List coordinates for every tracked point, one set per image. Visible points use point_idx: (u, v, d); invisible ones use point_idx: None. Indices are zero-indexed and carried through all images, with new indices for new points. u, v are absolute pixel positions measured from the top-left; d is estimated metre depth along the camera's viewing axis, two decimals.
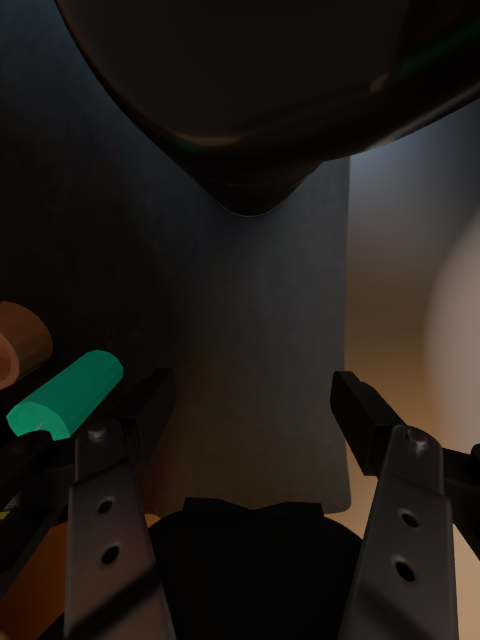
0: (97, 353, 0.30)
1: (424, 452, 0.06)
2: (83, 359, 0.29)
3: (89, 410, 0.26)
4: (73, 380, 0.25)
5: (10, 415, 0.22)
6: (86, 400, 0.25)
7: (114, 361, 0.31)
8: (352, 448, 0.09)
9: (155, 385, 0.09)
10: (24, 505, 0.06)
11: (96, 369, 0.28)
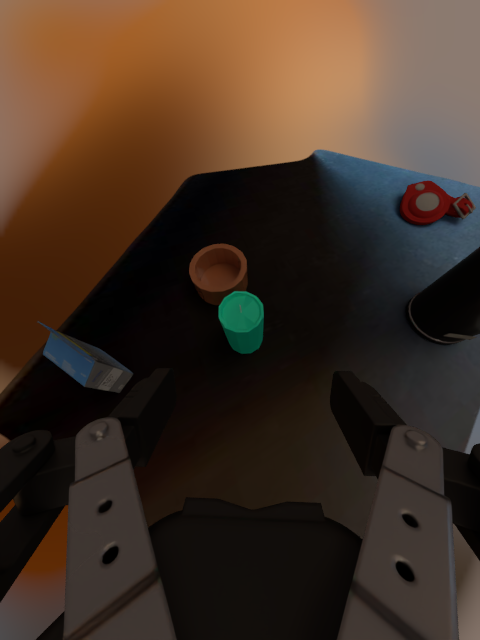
0: None
1: (424, 452, 0.06)
2: None
3: (252, 337, 0.31)
4: None
5: (237, 292, 0.30)
6: (260, 330, 0.31)
7: (262, 338, 0.38)
8: (352, 448, 0.09)
9: (155, 385, 0.09)
10: (24, 505, 0.06)
11: None
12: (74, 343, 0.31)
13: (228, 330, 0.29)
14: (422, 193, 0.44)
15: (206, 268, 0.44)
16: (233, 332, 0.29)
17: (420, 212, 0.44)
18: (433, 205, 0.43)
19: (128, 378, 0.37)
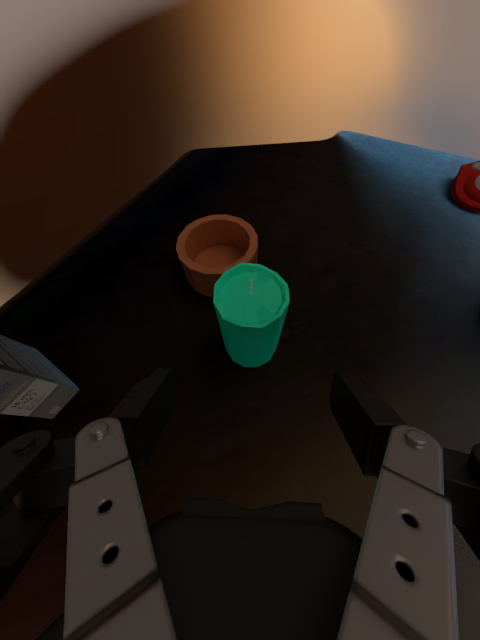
0: None
1: (424, 452, 0.06)
2: None
3: (267, 339, 0.19)
4: None
5: (246, 265, 0.19)
6: (279, 329, 0.19)
7: (276, 346, 0.26)
8: (352, 448, 0.09)
9: (155, 385, 0.09)
10: (24, 505, 0.06)
11: None
12: None
13: (228, 324, 0.17)
14: None
15: (201, 249, 0.33)
16: (237, 327, 0.17)
17: None
18: None
19: (69, 396, 0.24)
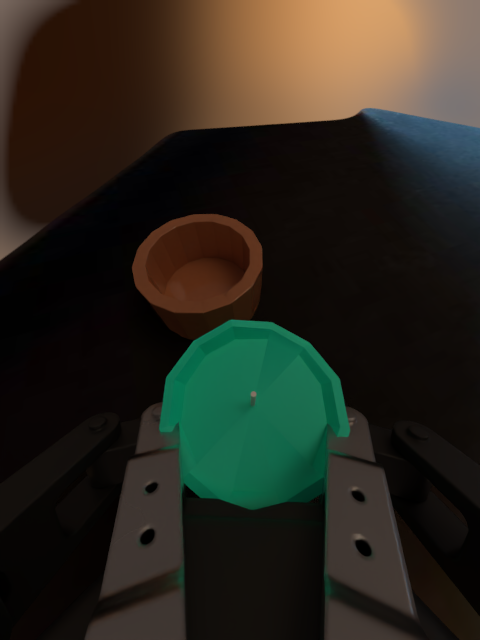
0: None
1: (351, 427, 0.07)
2: None
3: None
4: None
5: (242, 325, 0.08)
6: None
7: None
8: None
9: None
10: (93, 478, 0.07)
11: None
12: None
13: None
14: None
15: (179, 264, 0.22)
16: None
17: None
18: None
19: None
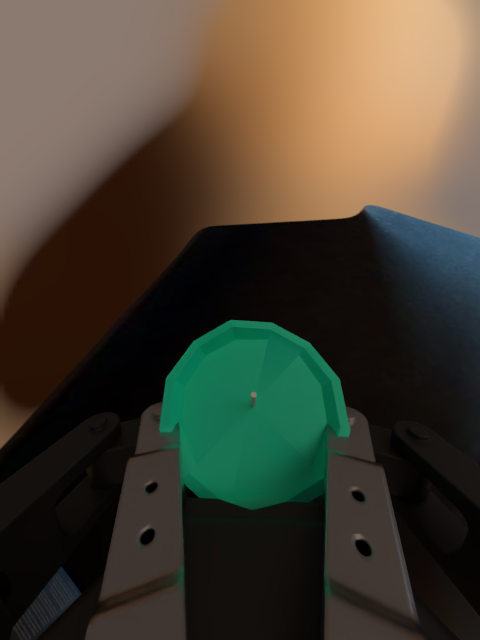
0: None
1: (350, 427, 0.07)
2: None
3: None
4: None
5: (242, 325, 0.08)
6: None
7: None
8: None
9: None
10: (93, 478, 0.07)
11: None
12: None
13: None
14: None
15: None
16: None
17: None
18: None
19: None
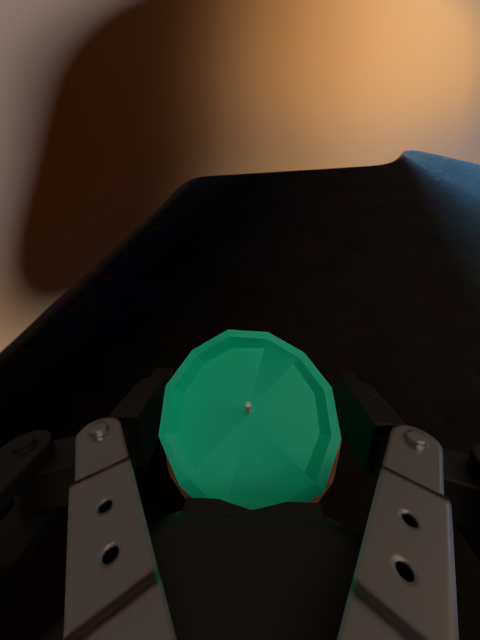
0: None
1: (424, 452, 0.06)
2: None
3: None
4: None
5: (238, 335, 0.09)
6: None
7: None
8: (352, 448, 0.09)
9: (155, 385, 0.09)
10: (24, 505, 0.06)
11: None
12: None
13: None
14: None
15: None
16: None
17: None
18: None
19: None
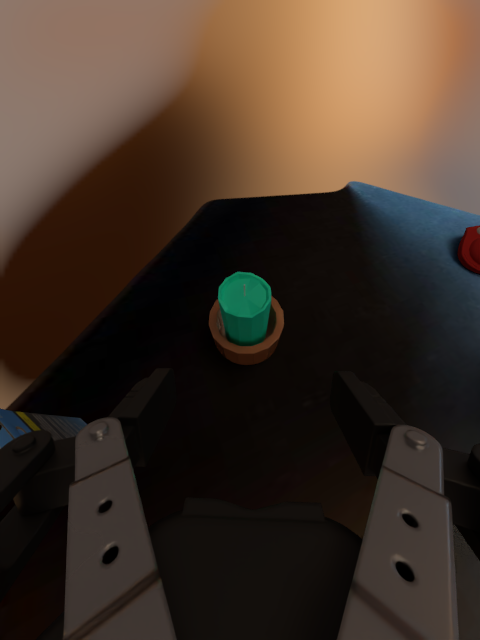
0: None
1: (424, 452, 0.06)
2: None
3: (256, 327, 0.26)
4: None
5: (241, 273, 0.26)
6: (265, 319, 0.27)
7: (265, 334, 0.33)
8: (352, 448, 0.09)
9: (155, 385, 0.09)
10: (24, 505, 0.06)
11: None
12: None
13: (228, 315, 0.24)
14: None
15: None
16: (234, 317, 0.24)
17: None
18: None
19: None
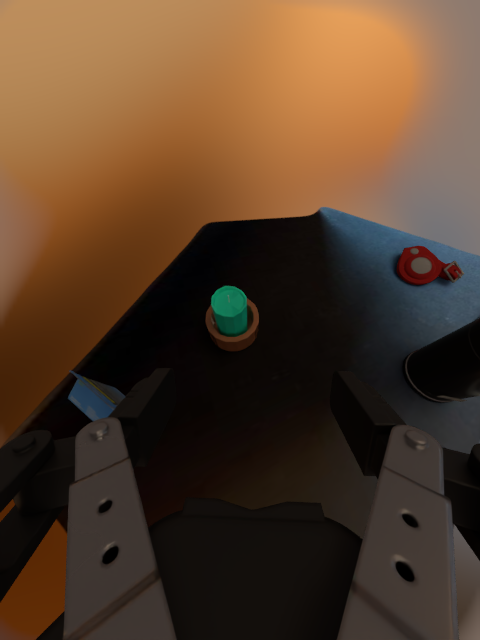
0: None
1: (424, 452, 0.06)
2: None
3: (237, 323, 0.39)
4: None
5: (227, 287, 0.38)
6: (244, 318, 0.39)
7: None
8: (352, 448, 0.09)
9: (155, 385, 0.09)
10: (24, 505, 0.06)
11: None
12: (99, 390, 0.33)
13: (218, 315, 0.37)
14: (416, 257, 0.49)
15: None
16: (222, 316, 0.36)
17: (415, 273, 0.49)
18: (427, 269, 0.48)
19: None
